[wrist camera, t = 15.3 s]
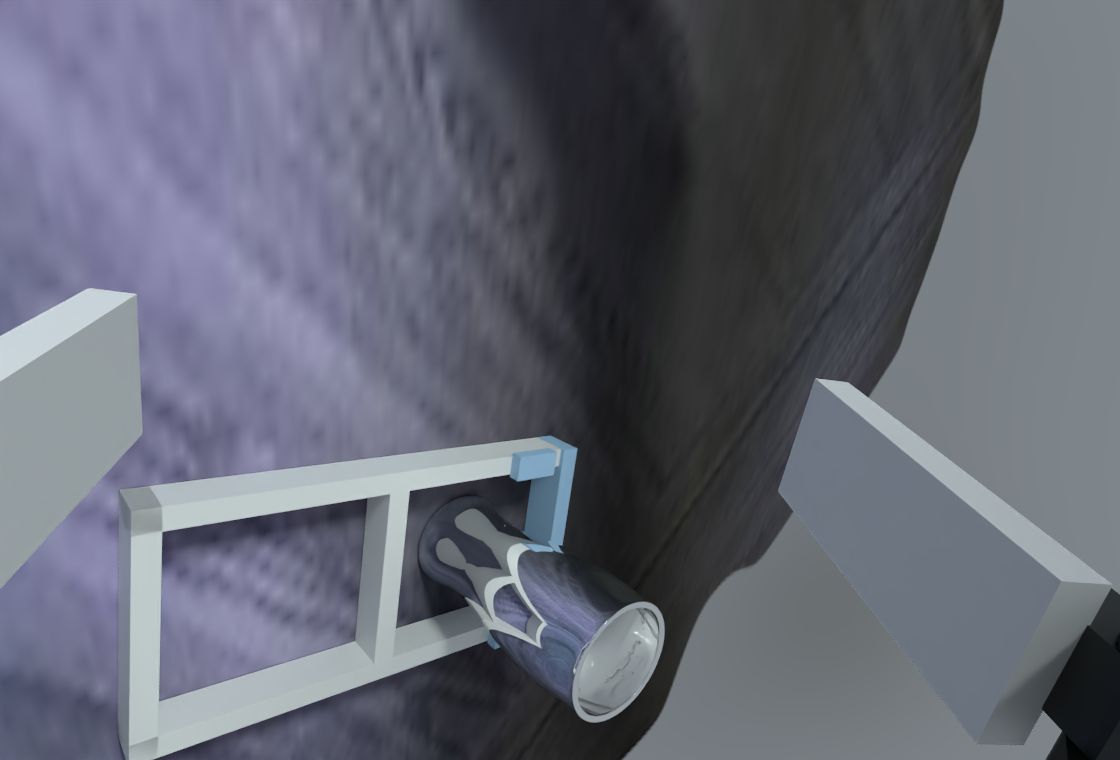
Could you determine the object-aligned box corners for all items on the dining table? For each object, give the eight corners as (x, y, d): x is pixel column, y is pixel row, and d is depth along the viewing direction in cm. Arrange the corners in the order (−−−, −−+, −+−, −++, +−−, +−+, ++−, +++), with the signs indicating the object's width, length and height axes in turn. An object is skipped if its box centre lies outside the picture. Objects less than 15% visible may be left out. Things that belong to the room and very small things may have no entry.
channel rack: (117, 735, 35) (128, 768, 33) (119, 490, 32) (131, 511, 30) (525, 602, 52) (547, 619, 50) (550, 435, 49) (574, 447, 48)
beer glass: (494, 575, 49) (654, 700, 39) (405, 598, 45) (560, 747, 34) (507, 481, 48) (678, 584, 37) (417, 496, 43) (582, 618, 32)
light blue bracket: (466, 624, 49) (494, 649, 46) (489, 440, 46) (520, 457, 43) (525, 604, 52) (554, 627, 50) (550, 432, 49) (582, 448, 47)
